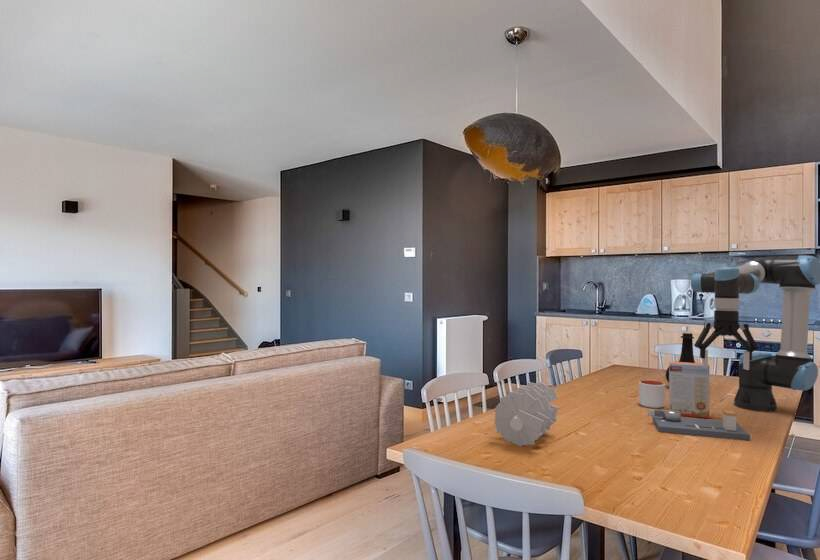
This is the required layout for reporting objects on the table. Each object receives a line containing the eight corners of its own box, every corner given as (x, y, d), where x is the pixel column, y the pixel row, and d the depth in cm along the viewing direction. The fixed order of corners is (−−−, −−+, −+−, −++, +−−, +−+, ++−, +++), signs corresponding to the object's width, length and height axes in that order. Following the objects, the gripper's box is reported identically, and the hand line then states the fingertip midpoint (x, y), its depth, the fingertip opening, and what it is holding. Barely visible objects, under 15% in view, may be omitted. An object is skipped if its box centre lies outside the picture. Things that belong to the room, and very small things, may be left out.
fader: (732, 427, 176) (732, 410, 176) (736, 431, 172) (736, 413, 172) (722, 426, 177) (722, 409, 177) (725, 430, 173) (725, 412, 173)
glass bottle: (660, 384, 258) (660, 330, 258) (697, 386, 256) (697, 331, 256) (673, 392, 240) (674, 334, 240) (713, 394, 238) (714, 335, 238)
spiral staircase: (503, 458, 162) (525, 434, 183) (552, 443, 153) (570, 420, 175) (479, 405, 165) (504, 387, 186) (527, 388, 156) (547, 371, 178)
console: (735, 427, 184) (735, 421, 184) (750, 440, 169) (750, 434, 169) (652, 420, 193) (652, 414, 193) (658, 431, 178) (658, 426, 178)
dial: (679, 417, 188) (679, 409, 188) (682, 422, 183) (682, 414, 183) (647, 415, 192) (647, 407, 192) (649, 419, 186) (649, 411, 186)
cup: (662, 410, 208) (662, 386, 208) (636, 406, 214) (636, 383, 214) (666, 405, 216) (667, 382, 216) (641, 401, 222) (642, 379, 222)
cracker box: (707, 415, 200) (708, 363, 200) (709, 419, 195) (710, 365, 195) (668, 411, 206) (669, 360, 206) (669, 414, 201) (669, 362, 201)
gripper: (759, 310, 182) (758, 368, 182) (685, 308, 187) (684, 365, 187) (770, 311, 175) (769, 371, 175) (693, 309, 179) (692, 368, 179)
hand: (725, 368), depth 181 cm, fingers open, 13 cm apart
